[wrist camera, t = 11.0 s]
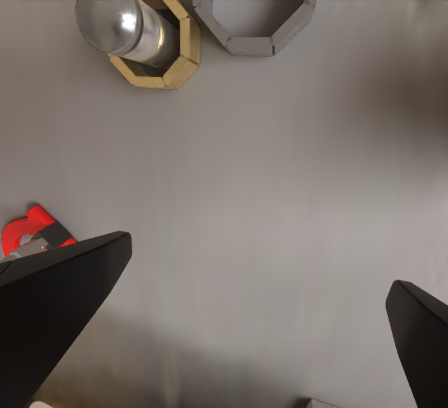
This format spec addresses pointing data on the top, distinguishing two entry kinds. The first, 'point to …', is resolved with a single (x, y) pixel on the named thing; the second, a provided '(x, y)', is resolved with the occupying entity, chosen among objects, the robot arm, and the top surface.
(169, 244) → the top surface
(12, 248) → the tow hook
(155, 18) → the round-tipped metal peg
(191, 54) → the small brass socket
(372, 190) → the top surface
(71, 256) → the robot arm
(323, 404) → the spiral ramp tower
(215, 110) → the top surface
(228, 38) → the wide steel socket
